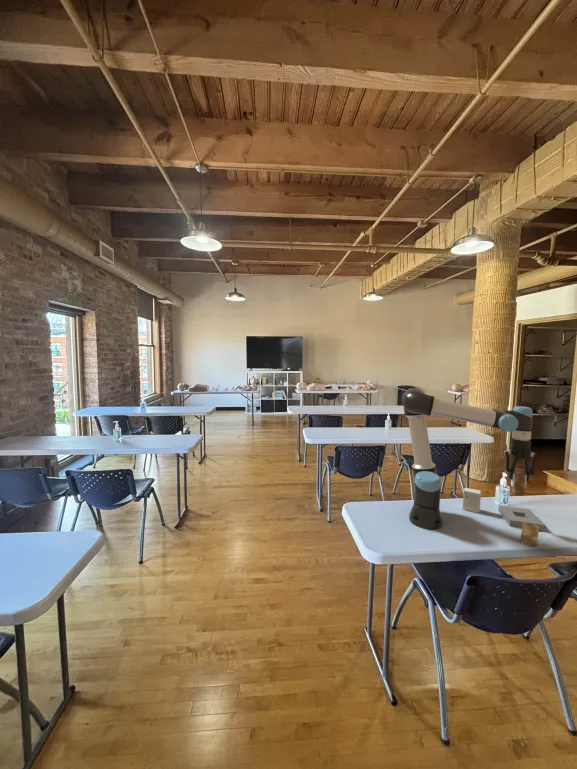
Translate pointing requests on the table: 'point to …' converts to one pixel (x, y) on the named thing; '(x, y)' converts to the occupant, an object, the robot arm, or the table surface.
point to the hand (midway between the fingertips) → (518, 486)
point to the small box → (471, 500)
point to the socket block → (519, 516)
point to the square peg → (519, 482)
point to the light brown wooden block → (529, 534)
